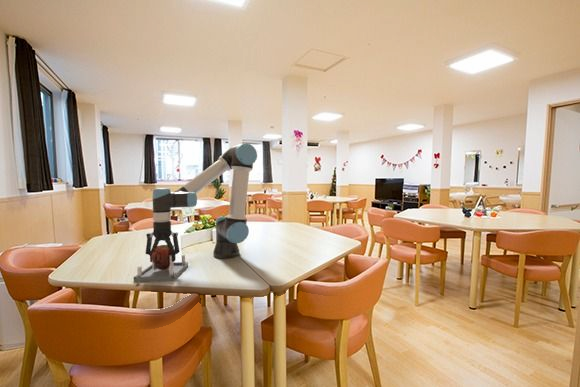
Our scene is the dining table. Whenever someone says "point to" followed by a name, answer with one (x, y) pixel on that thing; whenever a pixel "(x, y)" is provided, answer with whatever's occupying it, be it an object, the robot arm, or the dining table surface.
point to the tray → (161, 272)
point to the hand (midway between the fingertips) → (163, 268)
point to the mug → (161, 257)
